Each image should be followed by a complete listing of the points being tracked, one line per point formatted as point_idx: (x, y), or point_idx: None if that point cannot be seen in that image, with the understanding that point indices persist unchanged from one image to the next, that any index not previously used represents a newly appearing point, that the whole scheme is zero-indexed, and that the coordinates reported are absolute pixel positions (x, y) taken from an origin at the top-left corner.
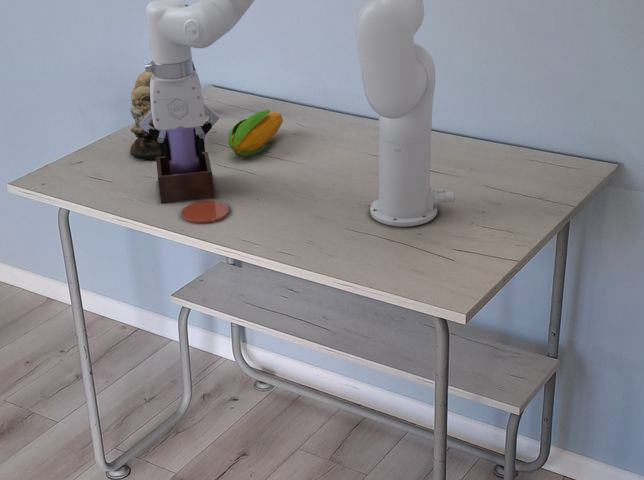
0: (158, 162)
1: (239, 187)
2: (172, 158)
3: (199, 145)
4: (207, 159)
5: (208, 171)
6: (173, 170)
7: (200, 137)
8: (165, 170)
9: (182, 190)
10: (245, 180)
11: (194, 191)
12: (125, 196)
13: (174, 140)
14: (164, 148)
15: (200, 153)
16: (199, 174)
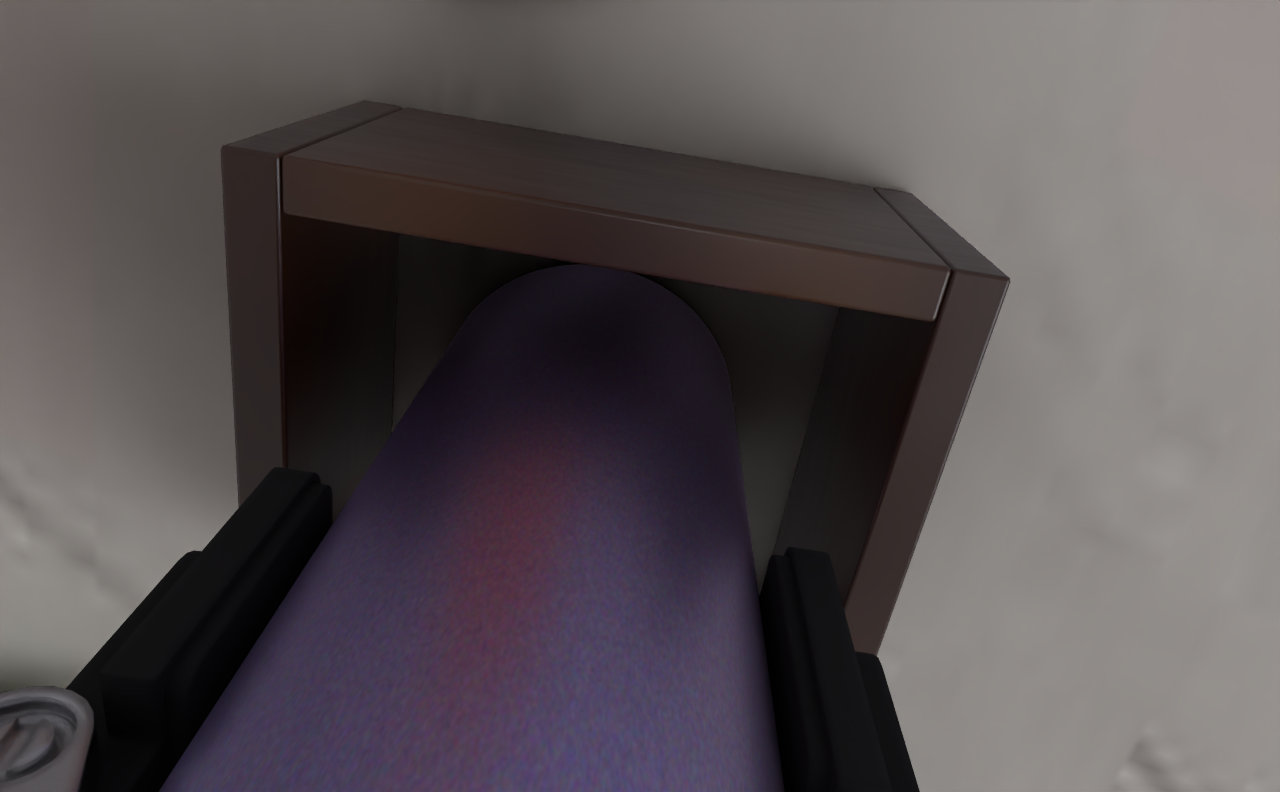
0: None
1: (98, 242)
2: (730, 536)
3: (205, 591)
4: None
5: (269, 183)
6: (726, 447)
7: (78, 715)
8: None
9: (682, 176)
10: (43, 368)
11: (548, 148)
12: (1157, 476)
13: (672, 734)
14: (857, 698)
15: (272, 502)
16: (413, 170)
